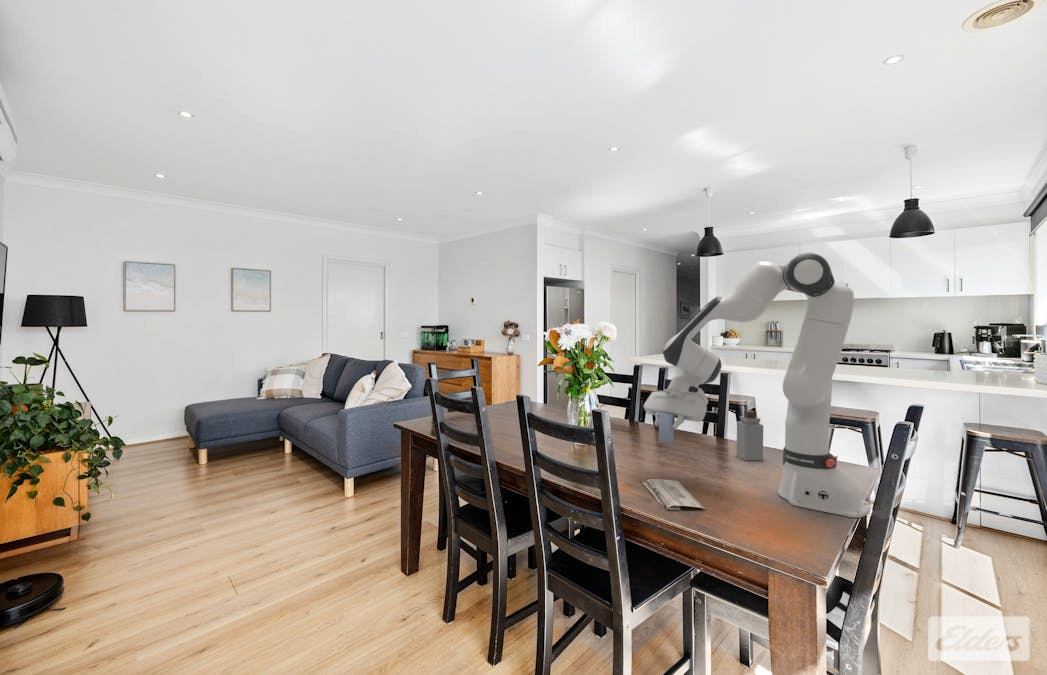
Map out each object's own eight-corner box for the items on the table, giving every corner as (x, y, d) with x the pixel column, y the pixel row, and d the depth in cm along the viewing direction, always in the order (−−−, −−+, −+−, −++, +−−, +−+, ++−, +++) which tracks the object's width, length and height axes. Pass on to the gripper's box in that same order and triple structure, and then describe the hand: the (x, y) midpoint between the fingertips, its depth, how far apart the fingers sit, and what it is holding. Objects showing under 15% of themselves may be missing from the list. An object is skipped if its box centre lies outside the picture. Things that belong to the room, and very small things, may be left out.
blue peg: (676, 441, 147) (675, 413, 147) (668, 444, 144) (668, 415, 144) (663, 439, 150) (663, 411, 150) (656, 441, 147) (656, 413, 147)
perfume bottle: (762, 460, 172) (763, 413, 171) (744, 460, 172) (745, 413, 171) (754, 455, 179) (754, 409, 178) (736, 455, 179) (737, 409, 178)
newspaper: (641, 484, 149) (641, 477, 149) (678, 488, 150) (679, 480, 149) (661, 513, 127) (662, 504, 127) (705, 518, 127) (706, 509, 127)
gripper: (649, 384, 159) (633, 416, 153) (706, 389, 144) (690, 425, 138) (657, 395, 162) (641, 427, 156) (713, 402, 147) (698, 438, 141)
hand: (665, 426), depth 147 cm, fingers closed on blue peg, 4 cm apart
